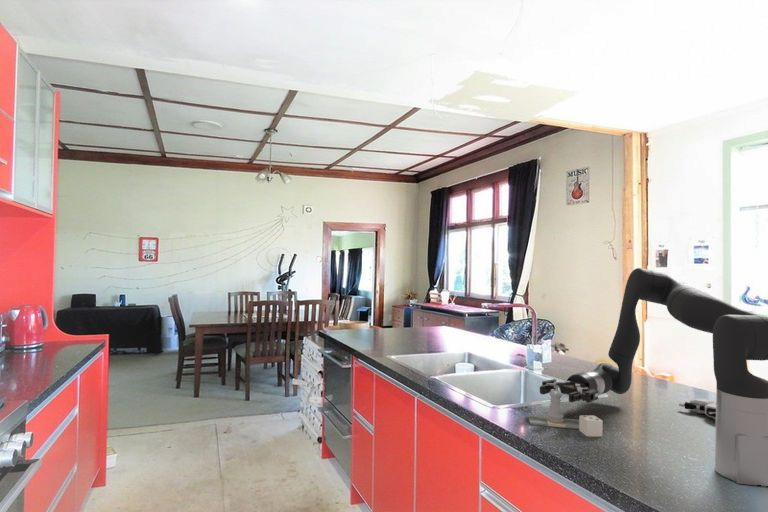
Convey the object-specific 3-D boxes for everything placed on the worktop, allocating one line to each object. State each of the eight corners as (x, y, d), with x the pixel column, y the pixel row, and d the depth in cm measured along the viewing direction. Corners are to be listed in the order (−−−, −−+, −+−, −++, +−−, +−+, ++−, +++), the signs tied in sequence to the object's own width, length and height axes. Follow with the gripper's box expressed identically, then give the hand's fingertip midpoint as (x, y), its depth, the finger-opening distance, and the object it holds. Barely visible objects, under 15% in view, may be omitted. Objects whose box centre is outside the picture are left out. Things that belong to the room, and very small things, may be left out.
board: (602, 431, 120) (602, 428, 120) (530, 424, 124) (530, 422, 124) (596, 423, 126) (596, 421, 126) (527, 417, 129) (527, 415, 129)
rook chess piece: (565, 424, 123) (566, 393, 123) (547, 422, 124) (548, 392, 124) (562, 418, 127) (563, 389, 127) (545, 417, 128) (546, 388, 128)
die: (602, 436, 116) (602, 420, 116) (586, 436, 116) (587, 420, 116) (594, 431, 120) (594, 415, 120) (579, 430, 120) (579, 415, 120)
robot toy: (675, 413, 140) (725, 427, 126) (675, 398, 140) (724, 410, 126) (705, 411, 144) (757, 423, 130) (705, 396, 144) (756, 407, 130)
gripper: (563, 367, 141) (532, 374, 131) (610, 378, 130) (580, 386, 120) (562, 392, 141) (531, 401, 131) (609, 404, 130) (580, 415, 120)
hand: (555, 394), depth 125 cm, fingers open, 8 cm apart
